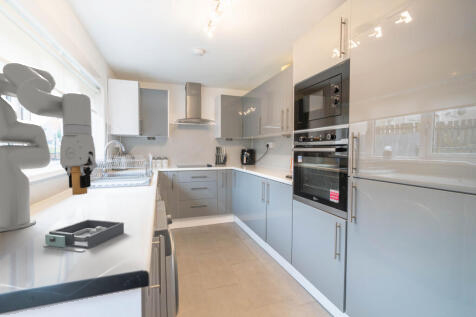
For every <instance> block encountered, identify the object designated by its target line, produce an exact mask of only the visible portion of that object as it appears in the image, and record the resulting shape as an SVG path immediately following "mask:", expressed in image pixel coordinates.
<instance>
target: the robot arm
mask: <svg viewBox="0 0 476 317" xmlns="http://www.w3.org/2000/svg"><path fill="white" fill-rule="evenodd" d="M55 87H56V79H55V77H54V75H52V73H50V72H49V71H47V70H45V69H42V68H38V67H36V66H33V65H28V64H25V63H22V62H18V61H17V62H15V61H14V62H13V61H11V62H8V63H6V64H4V65H3V67H2V72H1V71H0V144H3V145H0V233H1V232H9V231H16V230H19V229H24V228H28V227H30V226H33V225H34V224H35V225H36V222H37V220H36V219H35V218H31V200H30V199H31V198H30V196H31V195H30V193H31V192H30V190H31V189H30V179H29V178H28V176H27V175H26V174H25V173H24V172H23V170H33V169H35V170H36V169H43V168H46V167H47V166H48V165H49V164H50V163H51V153H50V152H51V151H50V148H49V144H48V139H47V136H46V133H45V129H44V128H43V127H42V126H41V125H40V124H39V123H37V122H35V121H29V120H28V121H27V120H20V119H19V118H18V115H17V110H16V109H15V107H14V106H13V105H12V103H11V102H10V101H8V99H6V98H5V97H3V96H7V97H11V98H16V99H17V101H18V103H19V104H20V105H21V106H22V107H23V108H25V109H26V110H27V111H28V112H29V113H31V114H33V115H36V116H39V117H40V116H41V117H47V118H48V117H49V118H57V119H61V120H62V131H63V133H62V134H63V135H62V137H61V140H60V141H61V142H60V148H59V150H60V153H59V163H60V166H61V168H63V169H64V170H65V172H66V176H68V188H69V189H72V173H70V170H71V166H80V170H81V175H82V176H80V188H86V187H87V188H90V187H91V186H92V184H91V175H93V171H94V170H95V169H96V168H97V167H98V164H97V162H96V148H95V142H94V138H93V133H92V132H93V131H92V130H93V128H92V110H91V109H92V106H91V105H92V104H91V103H92V102H91V98H90V96H88V95H86V94H84V93H81V92H72V91H71V92H65V93H63V94H62V95H58V94H55V93H54V94H53V93H52V92H53V91H54V90H55ZM84 164H86V165H85V166H84ZM85 168H86V169H85Z"/></svg>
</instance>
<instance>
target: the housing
mask: <svg viewBox="0 0 476 317" xmlns="http://www.w3.org/2000/svg"><path fill="white" fill-rule="evenodd" d="M124 228H125V223H124V222H120V221H109V220H98V219H85V220H82V221H78V222H76V223H72V224H69V225H65V226H63V227H60V228H57V229H54V230H50V231H48V234H50V235H59V236H65V247H58V246H51V245H45V244H44V245H42V247H43V248H48V249H49V248H50V249H56V250H61V251H63V250H64V251H70V252H77V253H84V252H86V249H92V248H95V247H96V246H98V245H101V244H103V243H105V242H107V241H110V240H112V239H113V238H116V237H118V236H120V235H122V234H124V233H125V229H124ZM68 246H69V247H68ZM82 248H83V249H82Z"/></svg>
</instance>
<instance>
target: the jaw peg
mask: <svg viewBox="0 0 476 317" xmlns="http://www.w3.org/2000/svg"><path fill="white" fill-rule="evenodd" d="M85 165H86V164H84V166H85ZM85 169H86V168H85ZM70 173H72V188H71V191H72V192H71V195H72V196H80V195H85V194H88V187H86V188H80V176H82V175H81V170H80V166H71V170H70Z"/></svg>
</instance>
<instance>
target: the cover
mask: <svg viewBox="0 0 476 317" xmlns="http://www.w3.org/2000/svg"><path fill="white" fill-rule="evenodd" d="M44 237H45V238H44V243H45V244H44V245H51V246H58V247H66V245H65V236H59V235H50V234H49V233H46V234H45V235H44Z"/></svg>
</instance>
